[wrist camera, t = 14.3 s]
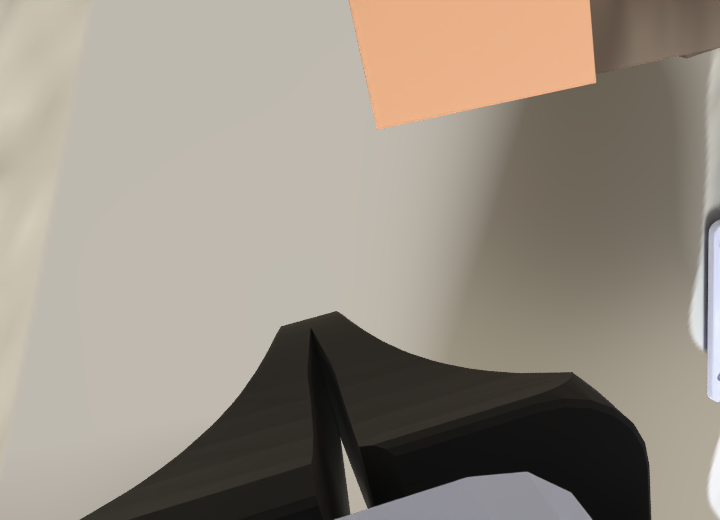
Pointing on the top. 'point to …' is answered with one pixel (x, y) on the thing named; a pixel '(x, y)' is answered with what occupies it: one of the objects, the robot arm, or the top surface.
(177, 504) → the robot arm
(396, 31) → the peach block
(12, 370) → the top surface
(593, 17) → the domino block
